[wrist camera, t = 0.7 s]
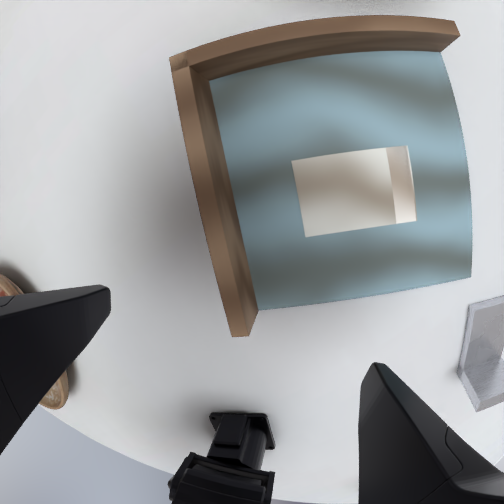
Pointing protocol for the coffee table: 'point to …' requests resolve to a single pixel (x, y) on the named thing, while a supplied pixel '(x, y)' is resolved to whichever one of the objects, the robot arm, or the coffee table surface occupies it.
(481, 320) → the aluminium bracket
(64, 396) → the ceramic bowl
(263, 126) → the corner arena
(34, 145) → the coffee table surface
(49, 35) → the coffee table surface
